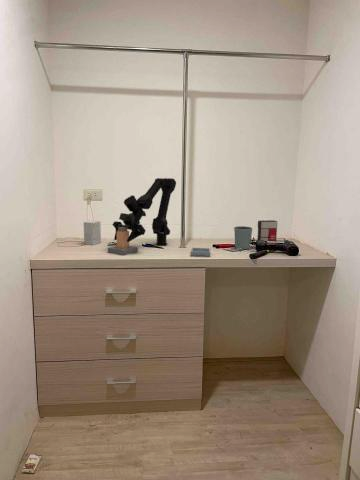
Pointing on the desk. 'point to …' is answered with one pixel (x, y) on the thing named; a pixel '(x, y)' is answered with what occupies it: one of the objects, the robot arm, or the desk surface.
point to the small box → (92, 232)
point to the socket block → (122, 250)
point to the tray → (200, 252)
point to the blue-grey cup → (243, 237)
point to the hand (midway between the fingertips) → (121, 240)
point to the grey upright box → (267, 230)
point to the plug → (122, 238)
